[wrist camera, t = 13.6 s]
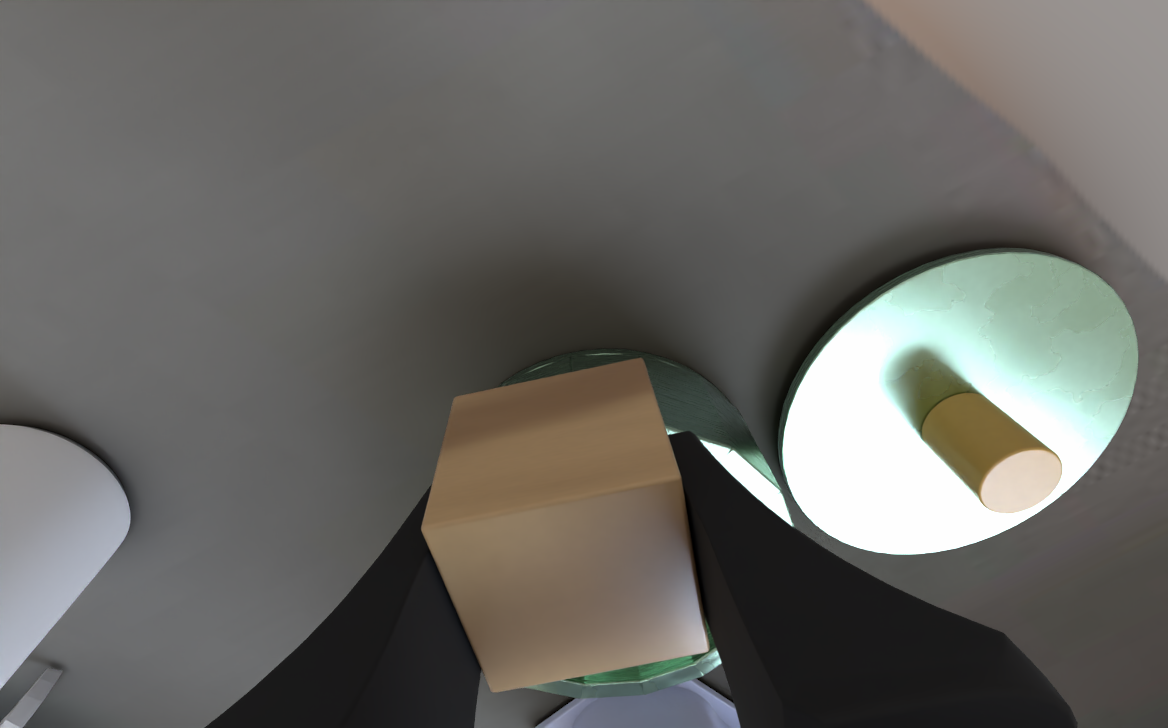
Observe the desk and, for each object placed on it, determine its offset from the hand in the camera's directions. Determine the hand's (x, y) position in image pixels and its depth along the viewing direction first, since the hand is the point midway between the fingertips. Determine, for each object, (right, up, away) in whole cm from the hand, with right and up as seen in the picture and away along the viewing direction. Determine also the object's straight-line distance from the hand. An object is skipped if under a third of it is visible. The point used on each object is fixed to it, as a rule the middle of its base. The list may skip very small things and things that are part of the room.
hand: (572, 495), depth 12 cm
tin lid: (+14, +1, +10) cm, 17 cm away
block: (0, +1, +1) cm, 1 cm away
